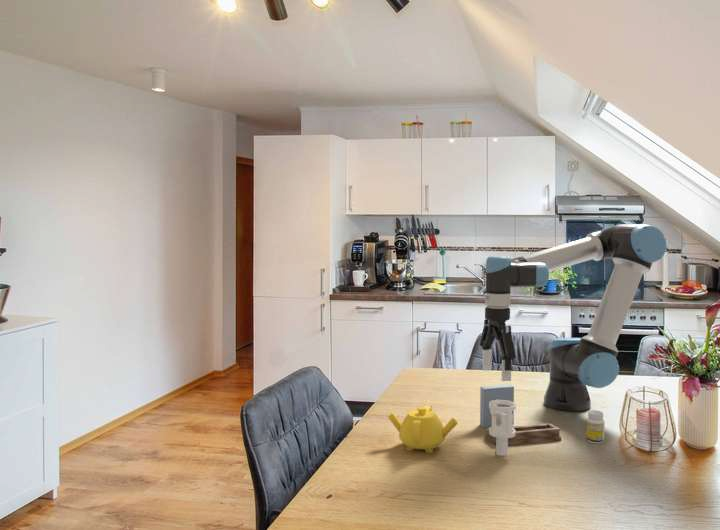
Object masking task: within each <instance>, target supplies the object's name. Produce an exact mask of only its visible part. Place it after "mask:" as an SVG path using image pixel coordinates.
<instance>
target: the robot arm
mask: <svg viewBox="0 0 720 530" xmlns="http://www.w3.org/2000/svg"><path fill="white" fill-rule="evenodd" d="M666 240H667V239H666V238H665V234H664V233H663V231H661V229H660V228H659V227H657V226H655V225H651V224H645V223H638V224H632V223H631V224H630V223H629V224H627V223H626V224H625V223H624V224H623V223H622V224H616V225H612V226H608V227H606V228H604V229H599V230H596V231H594V232H591V233H588V234H587V235H586V236H585V237H584V238H580V239H577V240H573V241H570V242H566V243H564V244H563V243H562V244H560V245H556V246H553V247H549V248H546V249H542V250H539V251H535V252H532V253H527V254H524V255H522V256H518V257H515V258H511V257H510V256H505V255H504V256H503V255H500V256H499V255H493V256H491V255H490V256H488V257H487V258H486V262H485V270H484V272H485V289H484V290H485V294H484V300H485V303H484V305H485V306H486V307H485V308H484V321H483V323H484V325H483V329H482V332H481V337H480V340H479V346H480V347H481V349H482V371H492V369H493V368H492V364H493V363H492V359H493V357H492V356H493V355H492V354H493V350H492V349H493V346H492V345H493V343H494V341H495V340H496V341H498V345H499V349H500V351H501V354H502V357H501V382H512V360H513V359H516V358H517V355H516V351H515V345H514V341H513V335H512V326H511V325H506V322H507V321H510V319H511V309H510V306H511V288H537V287H545V286H546V285H547V284H548V282H549V279H550V272H553V271H556V270H557V271H558V270H561V269H564V268H567V267H570V266H574V265H576V264H577V265H578V264H580V263H584V262H588V261H591V260H593V261H596V262H599V261H601V260H607V259H612V261H613V264H614V266H613V270H612V273H610V274H611V275H610V276H609V277H610V278H609V280H608V282H607V285H606V287H605V290H604V293H603V296H602V298H601V301H600V303H599V306H598V308H597V311H596V313H595V316H594V319H593V320H592V324H591V326H590V329H589V332H588V333H587V335H584V336H582V337H558V338H552V339H551V340H550V345H549V382H548V385H547V388H546V390H545V394H544V396H543V403H544V405H545V406H546V407H549V408H551V409H554V410H557V411H558V410H559V411H566V412H582V411H588V410H589V409H590V408H591V406H592V404H591V403H592V402H591V396H590V394H589V393H590V392H589V389H588V387H591V388H593V389H602V388H605V387H607V386H610V385H611V384H613V382H615V381H616V379H617V377H618V376H619V373H620V365H619V361H618V360H617V356H618V354H619V350H618V348H617V346H616V344H617V341H618V339H619V336H620V333H621V331H622V329H623V326H624V323H625V322H626V318H627V316H628V313H629V310H630V308H631V305H632V303H633V300H634V298H635V295H636V292H637V290H638V288H639V287H638V286H639V284H640V281H641V280H642V276H643V275H644V274H646V273H649V272H650V270H651V267H652V265H653V263H655V262H658V261H659V260H661V259H662V258H663V257H664V256H665V253H666V250H667V241H666Z"/></svg>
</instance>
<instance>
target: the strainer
mask: <svg viewBox="0 0 720 530" xmlns="http://www.w3.org/2000/svg"><path fill="white" fill-rule="evenodd" d="M497 404H504V405H510V406H511V407H498V406H497ZM489 408H490V414H492V427H488V429H489V434H490V435H491V436H493V437H496V445H495V448H496V449H495V454H496V455H498V456H501V457H502V456H503V457H504V456H508V455H509V454H508V453H509V451H508V449H509V448H508V447H509V445H508V438H512V437H514V436H515V433H516V431H515V429H514V428H513V427H514V425H513V413H512V411H513V410H514V411H516V408H517V404H516V403H515V401H514V402H511V401H507V400H498V399H497V400H492V401H490V402H489Z"/></svg>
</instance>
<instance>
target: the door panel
mask: <svg viewBox="0 0 720 530" xmlns="http://www.w3.org/2000/svg"><path fill="white" fill-rule="evenodd" d="M479 392H480V394H479V396H480V397H479V399H480V400H479V401H480V405H479V409H480V410H479V413H480V414H479V415H480V416H479V417H480V418H479V422H480V423H479V425H480V426H481V427H482V428H490V427H492V414H490V408H489V402H490V401H492V400H497V399H498V400H507V401H511V402H514V403H515V386H514V385H512V384H502V385H500V384H499V385H488V386H485V385H484V386H480V391H479ZM497 406H498V407H511V406H510V405H504V404H497ZM514 412H515V410H513V411H512V413H513V426H514V421H515V420H514V418H515V414H514Z"/></svg>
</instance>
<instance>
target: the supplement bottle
mask: <svg viewBox="0 0 720 530" xmlns="http://www.w3.org/2000/svg"><path fill="white" fill-rule="evenodd" d="M587 416H588V418H586V441H587V442H589V443H591V444H596V445H598V444H604V442H605V420H604V412H603V411H600V410H595V409H593V410H591V409H590V410H589V411H588V413H587Z"/></svg>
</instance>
